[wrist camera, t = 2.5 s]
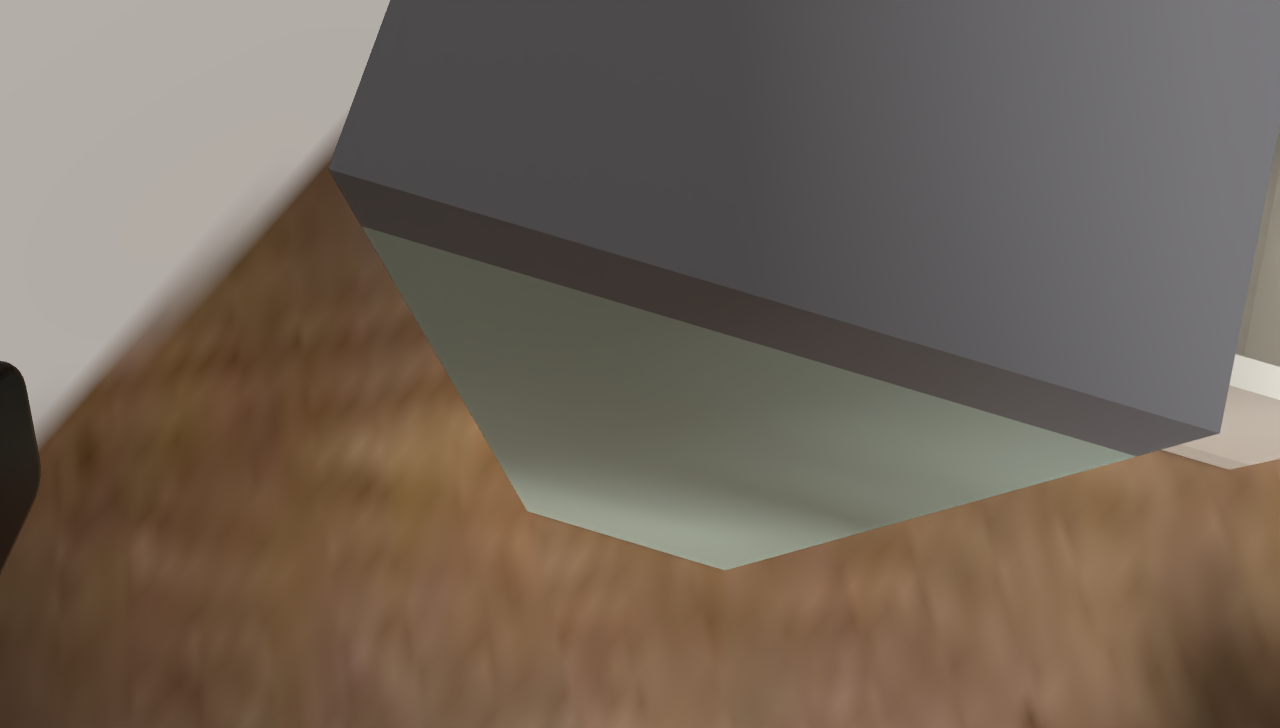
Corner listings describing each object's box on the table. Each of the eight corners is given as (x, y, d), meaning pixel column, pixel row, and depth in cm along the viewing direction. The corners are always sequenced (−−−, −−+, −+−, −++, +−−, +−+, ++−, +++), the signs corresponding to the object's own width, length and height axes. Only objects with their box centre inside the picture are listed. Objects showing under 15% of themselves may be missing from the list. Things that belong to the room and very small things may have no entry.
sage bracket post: (725, 570, 18) (1218, 435, 4) (527, 511, 18) (329, 170, 4) (778, 376, 18) (1370, -334, 4) (587, 319, 18) (597, -556, 5)
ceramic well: (1228, 469, 18) (1394, 434, 14) (858, 360, 18) (929, 295, 15) (1295, 123, 19) (1464, 8, 16) (947, 22, 19) (1032, -117, 16)
